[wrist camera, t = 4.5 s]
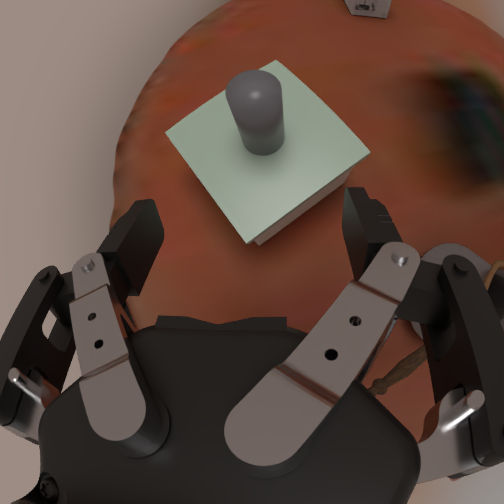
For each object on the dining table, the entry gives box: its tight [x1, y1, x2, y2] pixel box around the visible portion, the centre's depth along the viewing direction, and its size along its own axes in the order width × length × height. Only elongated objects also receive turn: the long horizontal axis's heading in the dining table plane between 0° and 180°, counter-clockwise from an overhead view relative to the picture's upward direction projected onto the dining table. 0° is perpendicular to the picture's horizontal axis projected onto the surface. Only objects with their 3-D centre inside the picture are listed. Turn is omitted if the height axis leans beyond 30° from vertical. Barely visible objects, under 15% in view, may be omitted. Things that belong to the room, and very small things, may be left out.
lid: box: [165, 60, 370, 245], centre depth 21 cm, size 13×13×9 cm
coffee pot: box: [368, 243, 504, 396], centre depth 22 cm, size 21×12×15 cm, turn 111°
